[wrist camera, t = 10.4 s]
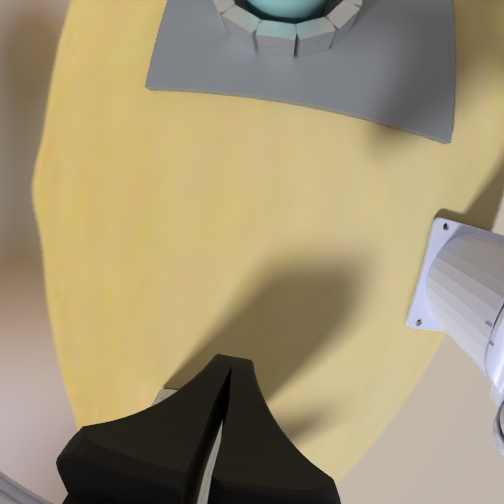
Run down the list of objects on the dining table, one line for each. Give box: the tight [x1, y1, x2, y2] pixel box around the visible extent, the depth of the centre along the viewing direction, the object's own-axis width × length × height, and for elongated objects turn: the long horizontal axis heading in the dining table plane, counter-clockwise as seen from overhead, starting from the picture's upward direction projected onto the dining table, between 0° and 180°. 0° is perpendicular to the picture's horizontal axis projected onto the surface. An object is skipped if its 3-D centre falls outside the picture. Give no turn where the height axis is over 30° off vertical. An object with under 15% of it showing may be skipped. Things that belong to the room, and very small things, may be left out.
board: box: [145, 0, 455, 144], centre depth 16 cm, size 20×14×1 cm
